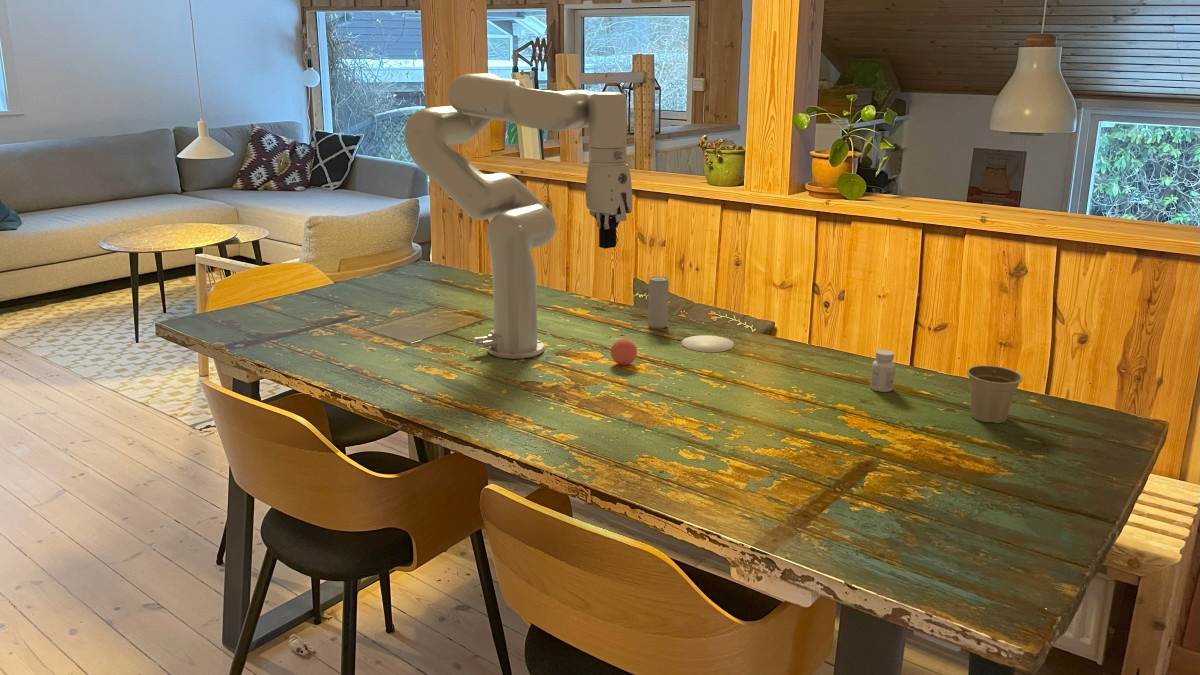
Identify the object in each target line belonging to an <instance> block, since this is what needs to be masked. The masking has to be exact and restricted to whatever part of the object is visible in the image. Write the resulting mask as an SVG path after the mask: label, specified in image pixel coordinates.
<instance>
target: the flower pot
mask: <svg viewBox="0 0 1200 675" xmlns="http://www.w3.org/2000/svg"><path fill="white" fill-rule="evenodd" d="M966 374H967V376H968V381H969V384H970V387H969V388H970V414H971V417H972V418H973V419H975V420H977V421H980V422H982V421H983V423H986V422H988V423H994V424H1002V423H1004V422H1006V421H1007V419H1008V415H1009V412H1010V409H1011V406H1012V402H1013V399H1014V396H1015V393H1016V390H1017V389H1018V387H1019V386H1020V383H1022V381H1023V380H1024V378H1023V374H1020V373H1019V372H1018V371H1015V370H1013V369H1010V368H1006V367H1003V366H1002V367H1001V366H997V365H996V366H995V365H974V366H972V367H971V366H970V367H969V368H968V369H967V371H966ZM1001 422H1002V423H1001Z"/></svg>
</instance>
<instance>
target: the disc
mask: <svg viewBox="0 0 1200 675" xmlns="http://www.w3.org/2000/svg"><path fill="white" fill-rule="evenodd" d="M681 345H682V347H684V348H686V349H687V350H691V351H695V352H703V353H721V352H726V351H729V350H732V349H733V348H734V347H735V343H734V341H733V340H731V339H729V338H726V337H722V336H719V335H694V336H689V337H685V338H684V339H682V341H681Z"/></svg>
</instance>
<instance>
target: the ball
mask: <svg viewBox="0 0 1200 675" xmlns="http://www.w3.org/2000/svg"><path fill="white" fill-rule="evenodd" d="M637 354H638V349H637V347H636V344H635V343H634V342H633V341H632V340H630V339H628V338H621V339H618V340H616V341H615V342H614V343H613V344H612V346H611V348H610V356H611V358H612V360H613V361H614V362H615V363H616V364H618V365H620V366H626V365H630V364H632V363H633V362H634V361H635V360H636V358H637Z"/></svg>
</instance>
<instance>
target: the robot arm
mask: <svg viewBox="0 0 1200 675" xmlns="http://www.w3.org/2000/svg"><path fill="white" fill-rule="evenodd" d="M446 94H447V95H446V96H447V101H448V103H449V105H444V106H432V107H426V108H422V109H419V110H417V111H415V112H413V113H412V114H411V115H410V116H409V117H408V119H407V120H406V123H405V125H404V141H405V145H406V149H407V152H408V153H409V156H410V157H411V159H412V161H413V162H414V164H416V165H417V167H418V168H419V169H420V170H421V171H422V172H423V173H424V174H425V175H426V176H428V178H430V179H431V180H432V181H433V182H435V183H436V185H438V186H439V187H440V188H441V190H443V191H444V192H445V194H447V195H448V196H449V197H450V199H452V201H454V203H455V204H457V206H458V207H460V208H461V210H462V211H463V212H464V213H465V214H466V215H467V216H469V217H470V218H472V219H473V220H476V221H485V220H490V219H491V220H490V222H489V223H488V227H487V231H486V238H487V239H486V240H487V245H488V248H489V253H490V258H491V259H490V260H491V270H492V289H493V290H492V293H493V297H492V298H493V326H494V329H491V330H490V331H489V332H490V333H489V334H486V336H475V337H474V336H473V338H472V341H473V342H472V343H473V345H474V346H475V347H478V346H482V347H483V348H487V352H488V353H489V354H490V355H492V356H494V357H497V358H500V359H501V358H502V359H511V360H512V359H514V360H515V359H516V360H517V359H527V358H528V359H529V358H533V357H535V356H536V357H537V356H539V355H540V354H542V353H543V352H544V351H545V343H543V342H542V341H541V340H539V339H538V309H537V308H538V307H537V306H538V305H537V303H538V298H537V296H538V295H537V289H538V288H537V286H538V285H537V269H536V266H535V261H534V259H533V256H532V253H531V250H534V249H537V248H540V247H543V246H545V245H547V244H548V243H549V242H551V241H552V239H553V238H554V237H555V234H556V231H557V226H556V224H557V223H556V220H555V217H554V215H553V214H552V212H551V210H550V209H549V208H548V207H547V206H546V205H545V204H544V202H542V201H541V200H540V199H539V198H538V197H537V196H536V195H535V194H534V193H533V192H532V191H531V190H530V189H529V188H528V187H527V186H526V185H524V184H523V183H522V182H521V181H520V180H519V179H518V178H516V176H513V175H511V174H509V173H506V172H493V173H489V174H487V173H483V172H482V171H480V170H479V169H478V168H476V166H474V164H473V163H471V161H470V160H468V159H467V158H466V156H464V155H462V154H461V153H459V152H457V151H456V150H454V149H452V148H450V146H453V145H460V144H461V145H462V144H464V143H466V142H469V141H470V140H471V139H473V138H475V136H477V134H479V133H480V131H482V130H483V129H484V128H486V126H487V125H488V124H489V123H490V122H492V121H493V120H497V121H504V122H509V123H512V124H515V125H518V126H521V127H525V128H532V129H536V130H537V129H538V130H544V131H551V132H562V131H569V130H577V129H578V130H580V129H584V128H588V165H587V172H586V183H585V201H586V202H585V204H586V208H587V209H588V210H589V215H591V216H592V217H593V218H594V219H595V220H596V227H597V228H598V247H599V248H601V249H606V250H607V249H611V248H616V247H617V229H618V228H619V224H620V223H622V222H626V221H627V214H630V213H632V211H633V189H632V188H633V187H632V177H631V170H630V166H629V163H627V159H628V158H627V150H628V149H627V138H628V137H627V136H628V134H627V133H628V132H627V131H628V130H627V128H628V127H627V125H628V124H627V123H628V101H627V96H626V95H625V94H624V93H622V92H618V91H590V90H587V89H572V90H569V89H568V90H560V91H559V90H557V91H554V90H543V89H536V88H528V87H525V85H524V84H523V83H522V82H521V81H520V80H517V79H513V78H512V79H511V78H501V77H499V76H498V75H496V74H494V73H493V74H492V73H488V72H487V73H483V72H482V73H467V74H462V75H458V76H457V77H455V78H454V79H453V80H452V81H451V82H450V83H449V85H448V87H447V93H446Z"/></svg>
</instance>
